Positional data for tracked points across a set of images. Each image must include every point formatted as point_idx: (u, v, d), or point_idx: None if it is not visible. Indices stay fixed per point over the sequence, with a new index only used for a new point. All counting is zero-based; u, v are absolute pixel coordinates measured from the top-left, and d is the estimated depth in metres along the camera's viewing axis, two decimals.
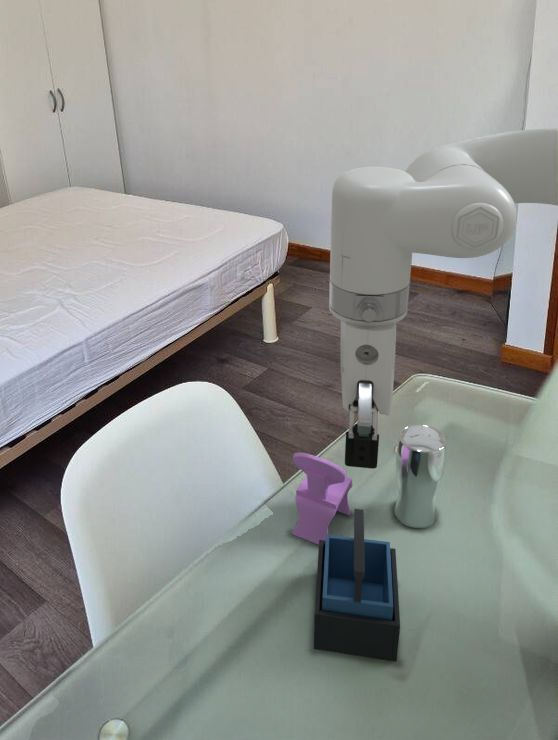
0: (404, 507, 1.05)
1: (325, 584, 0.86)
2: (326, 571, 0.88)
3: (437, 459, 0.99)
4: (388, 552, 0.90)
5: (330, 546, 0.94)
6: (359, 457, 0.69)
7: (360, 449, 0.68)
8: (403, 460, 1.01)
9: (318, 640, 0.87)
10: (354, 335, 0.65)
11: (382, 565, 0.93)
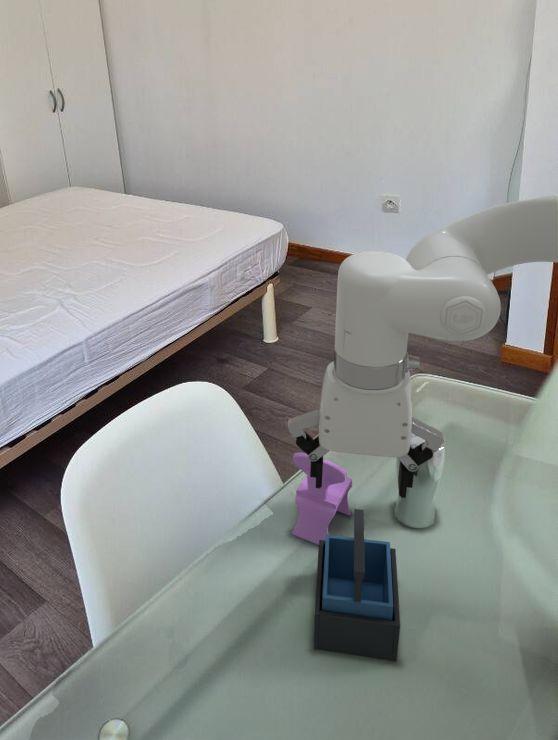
0: (404, 507, 1.05)
1: (325, 584, 0.86)
2: (326, 571, 0.88)
3: (437, 459, 0.99)
4: (388, 552, 0.90)
5: (330, 546, 0.94)
6: None
7: None
8: None
9: (318, 640, 0.87)
10: (409, 389, 0.74)
11: (382, 565, 0.93)
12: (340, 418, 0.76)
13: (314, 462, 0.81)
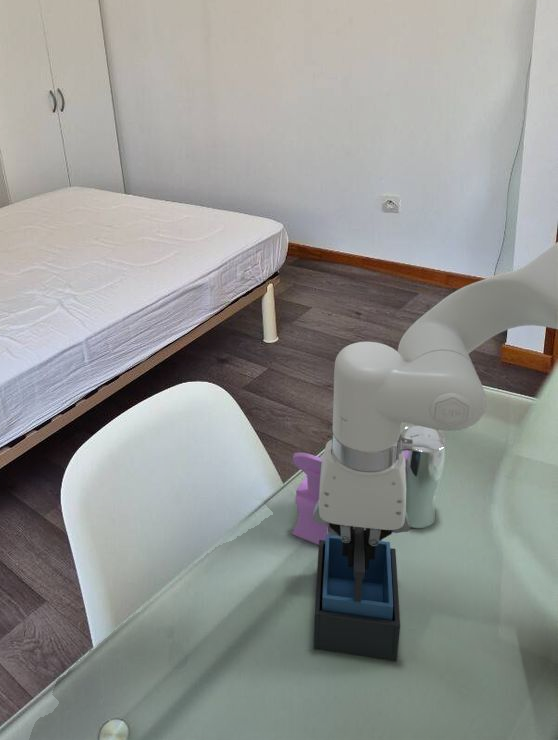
0: None
1: (325, 584, 0.86)
2: (326, 571, 0.88)
3: (437, 459, 0.99)
4: (388, 552, 0.90)
5: (330, 546, 0.94)
6: None
7: None
8: None
9: (318, 640, 0.87)
10: (403, 469, 0.78)
11: (382, 565, 0.93)
12: (338, 494, 0.81)
13: (346, 543, 0.86)
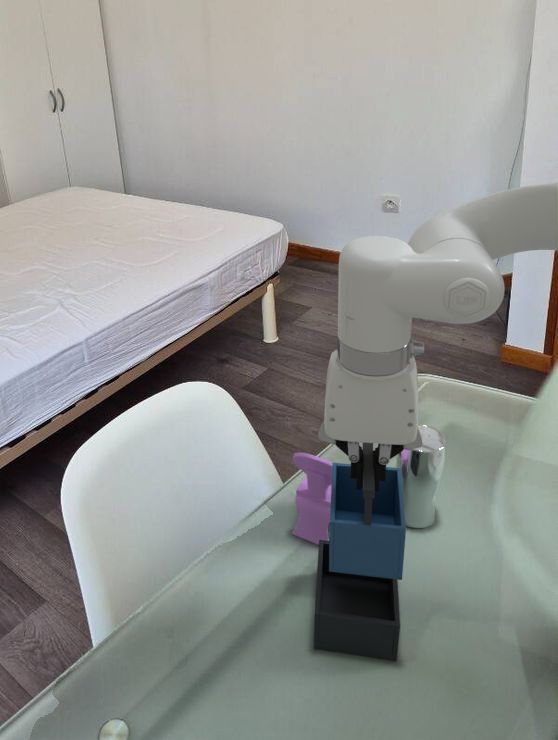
0: (404, 507, 1.05)
1: (332, 509, 0.81)
2: (333, 497, 0.83)
3: (437, 459, 0.99)
4: (399, 477, 0.85)
5: (337, 475, 0.88)
6: None
7: None
8: (403, 460, 1.01)
9: (318, 640, 0.87)
10: (414, 375, 0.73)
11: (393, 494, 0.88)
12: (345, 406, 0.75)
13: (354, 463, 0.80)
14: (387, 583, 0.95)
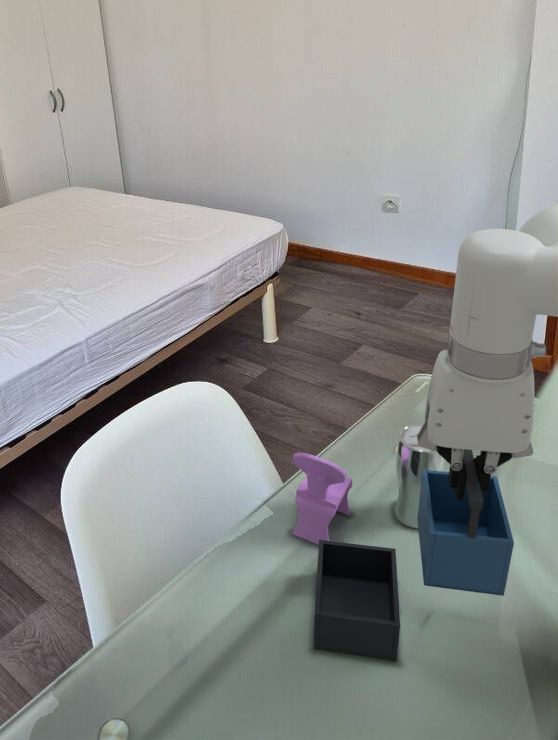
0: (404, 507, 1.05)
1: (431, 520, 0.76)
2: (430, 506, 0.78)
3: (437, 459, 0.99)
4: (497, 487, 0.80)
5: (427, 483, 0.83)
6: None
7: None
8: (403, 460, 1.01)
9: (318, 640, 0.87)
10: (533, 378, 0.68)
11: (486, 504, 0.83)
12: (455, 411, 0.70)
13: (456, 471, 0.75)
14: (387, 583, 0.95)
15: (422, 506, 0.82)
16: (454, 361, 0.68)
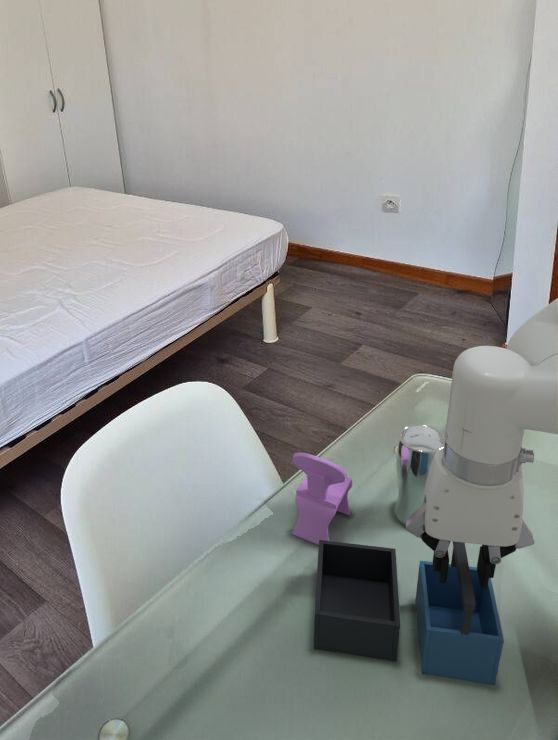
0: (404, 507, 1.05)
1: (427, 615, 0.82)
2: (426, 600, 0.84)
3: None
4: (489, 580, 0.86)
5: (424, 572, 0.90)
6: None
7: None
8: (403, 460, 1.01)
9: (318, 640, 0.87)
10: (522, 482, 0.73)
11: (479, 592, 0.89)
12: (450, 509, 0.76)
13: (439, 557, 0.81)
14: (387, 583, 0.95)
15: (419, 596, 0.88)
16: (449, 465, 0.74)
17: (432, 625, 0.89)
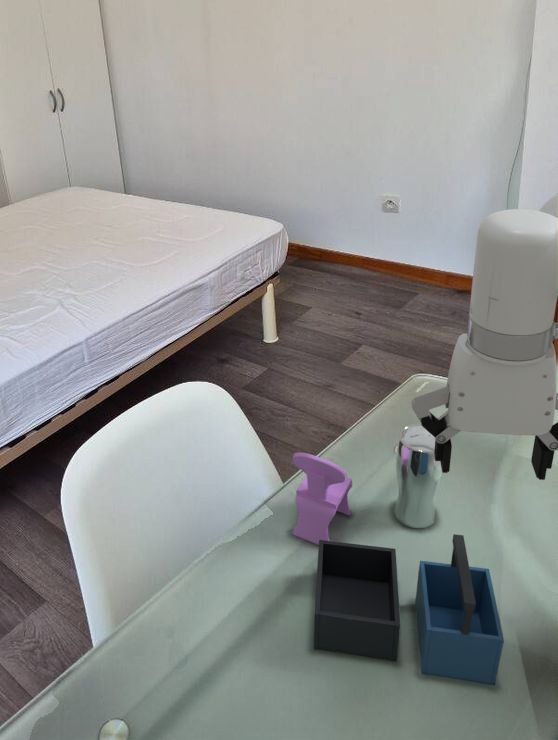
0: (404, 507, 1.05)
1: (427, 615, 0.82)
2: (426, 600, 0.84)
3: None
4: (489, 580, 0.86)
5: (424, 572, 0.90)
6: None
7: None
8: (403, 460, 1.01)
9: (318, 640, 0.87)
10: (555, 359, 0.67)
11: (479, 592, 0.89)
12: (476, 394, 0.70)
13: (441, 444, 0.75)
14: (387, 583, 0.95)
15: (419, 596, 0.88)
16: (475, 344, 0.68)
17: (432, 625, 0.89)
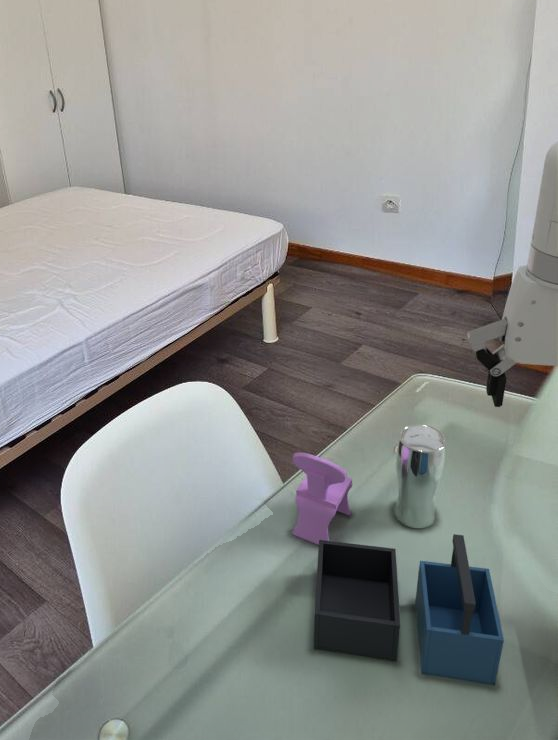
0: (404, 507, 1.05)
1: (427, 615, 0.82)
2: (426, 600, 0.84)
3: (437, 459, 0.99)
4: (489, 580, 0.86)
5: (424, 572, 0.90)
6: None
7: None
8: (403, 460, 1.01)
9: (318, 640, 0.87)
10: None
11: (479, 592, 0.89)
12: (536, 324, 0.70)
13: (495, 378, 0.76)
14: (387, 583, 0.95)
15: (419, 596, 0.88)
16: (537, 272, 0.69)
17: (432, 625, 0.89)
